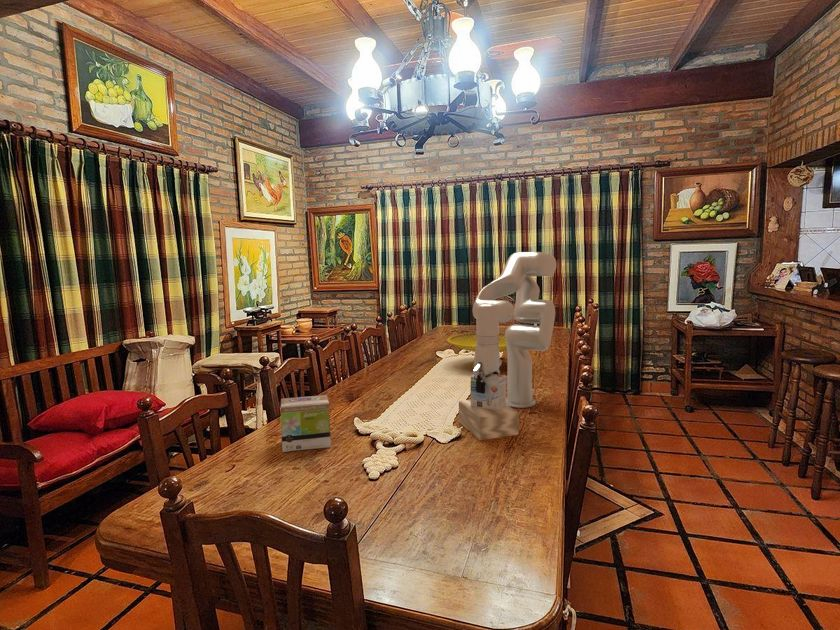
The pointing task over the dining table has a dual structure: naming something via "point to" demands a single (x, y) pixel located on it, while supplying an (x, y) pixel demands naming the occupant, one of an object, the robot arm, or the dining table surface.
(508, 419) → the birch block
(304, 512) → the dining table surface
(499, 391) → the light bulb box
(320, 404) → the tea box
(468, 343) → the cake stand
